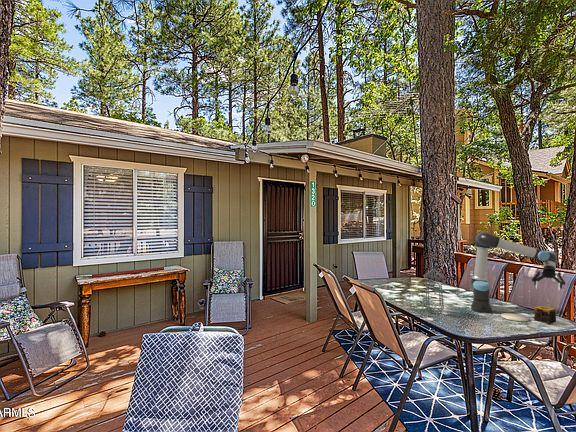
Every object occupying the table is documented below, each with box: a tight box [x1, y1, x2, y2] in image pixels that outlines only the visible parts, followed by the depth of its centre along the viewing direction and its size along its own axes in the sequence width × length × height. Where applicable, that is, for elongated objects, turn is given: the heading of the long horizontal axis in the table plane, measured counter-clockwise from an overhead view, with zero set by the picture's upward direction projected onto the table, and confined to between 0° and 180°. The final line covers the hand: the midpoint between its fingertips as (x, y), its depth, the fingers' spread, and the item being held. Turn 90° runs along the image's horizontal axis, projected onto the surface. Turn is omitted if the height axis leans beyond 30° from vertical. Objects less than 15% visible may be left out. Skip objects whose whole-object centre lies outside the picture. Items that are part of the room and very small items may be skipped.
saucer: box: [500, 312, 531, 322], centre depth 250 cm, size 18×18×1 cm
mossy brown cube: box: [533, 305, 557, 325], centre depth 242 cm, size 10×10×10 cm
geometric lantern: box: [423, 268, 445, 315], centre depth 267 cm, size 16×16×35 cm
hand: (547, 289), depth 249 cm, fingers open, 13 cm apart
